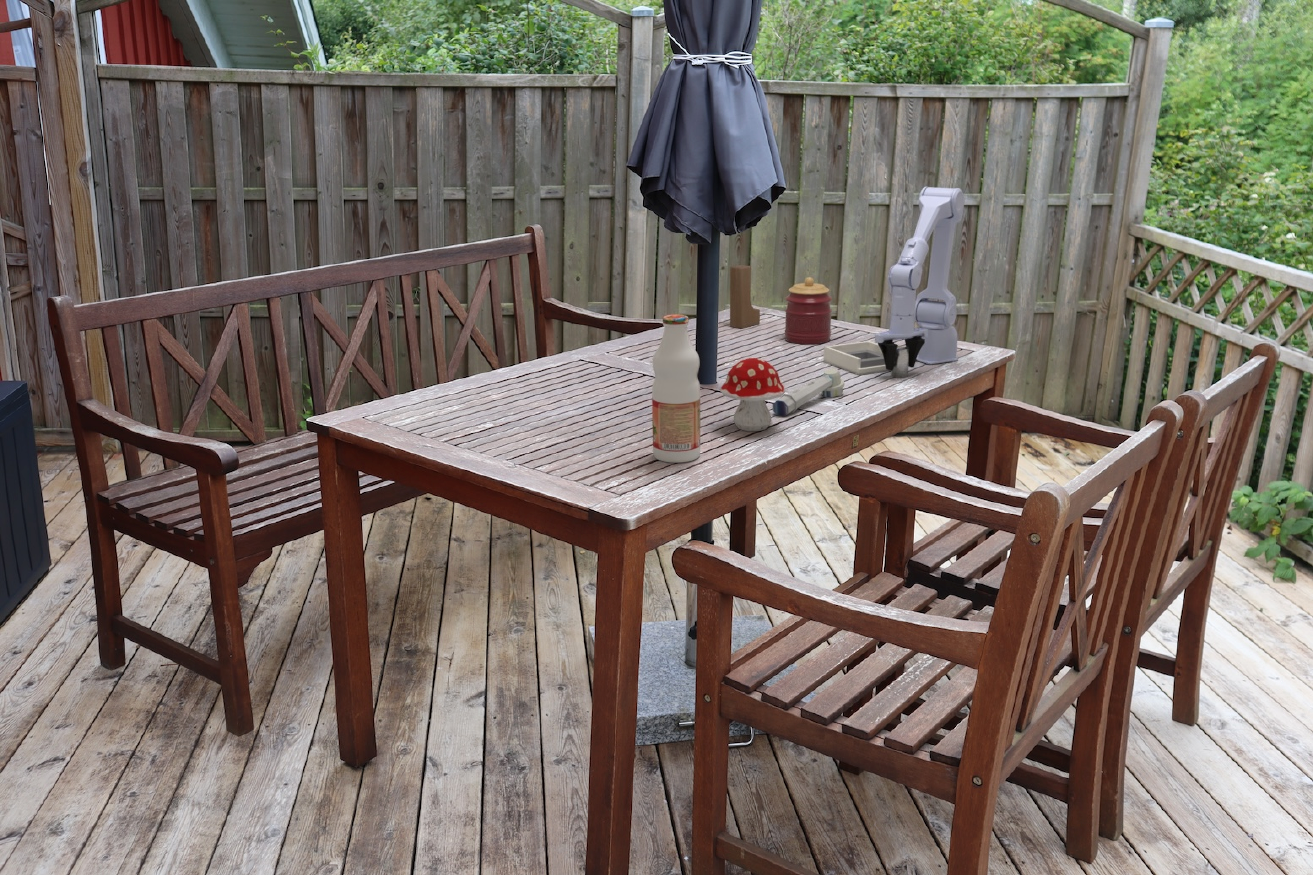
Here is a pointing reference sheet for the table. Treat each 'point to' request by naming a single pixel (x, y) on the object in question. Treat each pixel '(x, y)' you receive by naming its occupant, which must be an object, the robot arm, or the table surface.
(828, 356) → the walled box
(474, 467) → the table surface
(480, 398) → the table surface
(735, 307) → the wooden block
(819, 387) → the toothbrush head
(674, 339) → the fruit juice
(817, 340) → the canister
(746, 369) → the decorative mushroom
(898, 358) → the metal plug
